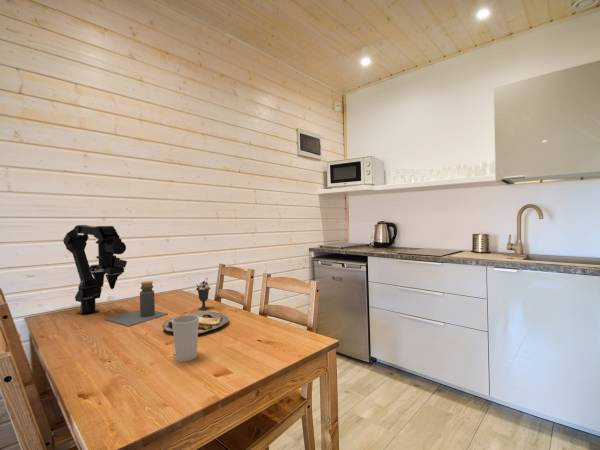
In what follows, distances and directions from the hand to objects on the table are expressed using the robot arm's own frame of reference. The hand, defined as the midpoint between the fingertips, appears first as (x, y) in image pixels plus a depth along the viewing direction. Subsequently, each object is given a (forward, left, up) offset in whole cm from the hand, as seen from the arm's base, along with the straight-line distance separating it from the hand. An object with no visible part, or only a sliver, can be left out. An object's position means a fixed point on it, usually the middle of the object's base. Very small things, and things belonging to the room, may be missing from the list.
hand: (106, 288), depth 136 cm
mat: (+13, +6, -13) cm, 19 cm away
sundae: (+30, +29, -13) cm, 44 cm away
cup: (+66, -10, -13) cm, 68 cm away
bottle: (+16, +9, -13) cm, 22 cm away
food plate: (+46, +11, -14) cm, 49 cm away
